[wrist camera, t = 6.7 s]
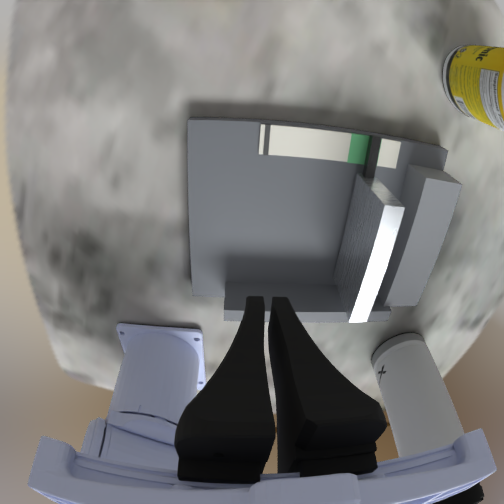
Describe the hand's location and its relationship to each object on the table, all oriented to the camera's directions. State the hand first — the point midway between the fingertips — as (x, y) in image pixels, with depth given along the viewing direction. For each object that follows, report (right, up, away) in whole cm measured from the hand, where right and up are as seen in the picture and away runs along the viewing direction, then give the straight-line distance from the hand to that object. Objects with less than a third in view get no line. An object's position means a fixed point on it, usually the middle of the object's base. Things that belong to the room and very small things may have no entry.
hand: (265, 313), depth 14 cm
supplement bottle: (+15, +15, +2) cm, 21 cm away
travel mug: (+15, -8, +17) cm, 24 cm away
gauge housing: (+4, +5, +8) cm, 10 cm away
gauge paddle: (+6, +5, +6) cm, 10 cm away
